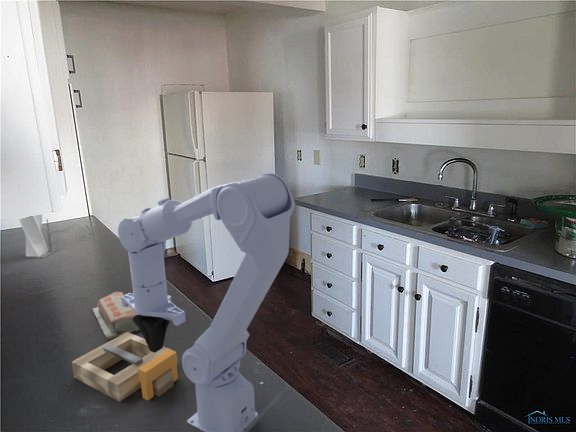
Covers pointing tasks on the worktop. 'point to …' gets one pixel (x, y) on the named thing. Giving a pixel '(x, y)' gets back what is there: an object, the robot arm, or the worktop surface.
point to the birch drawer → (110, 353)
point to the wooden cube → (163, 383)
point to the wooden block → (157, 371)
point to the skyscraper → (36, 237)
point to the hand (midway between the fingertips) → (156, 349)
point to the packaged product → (115, 316)
